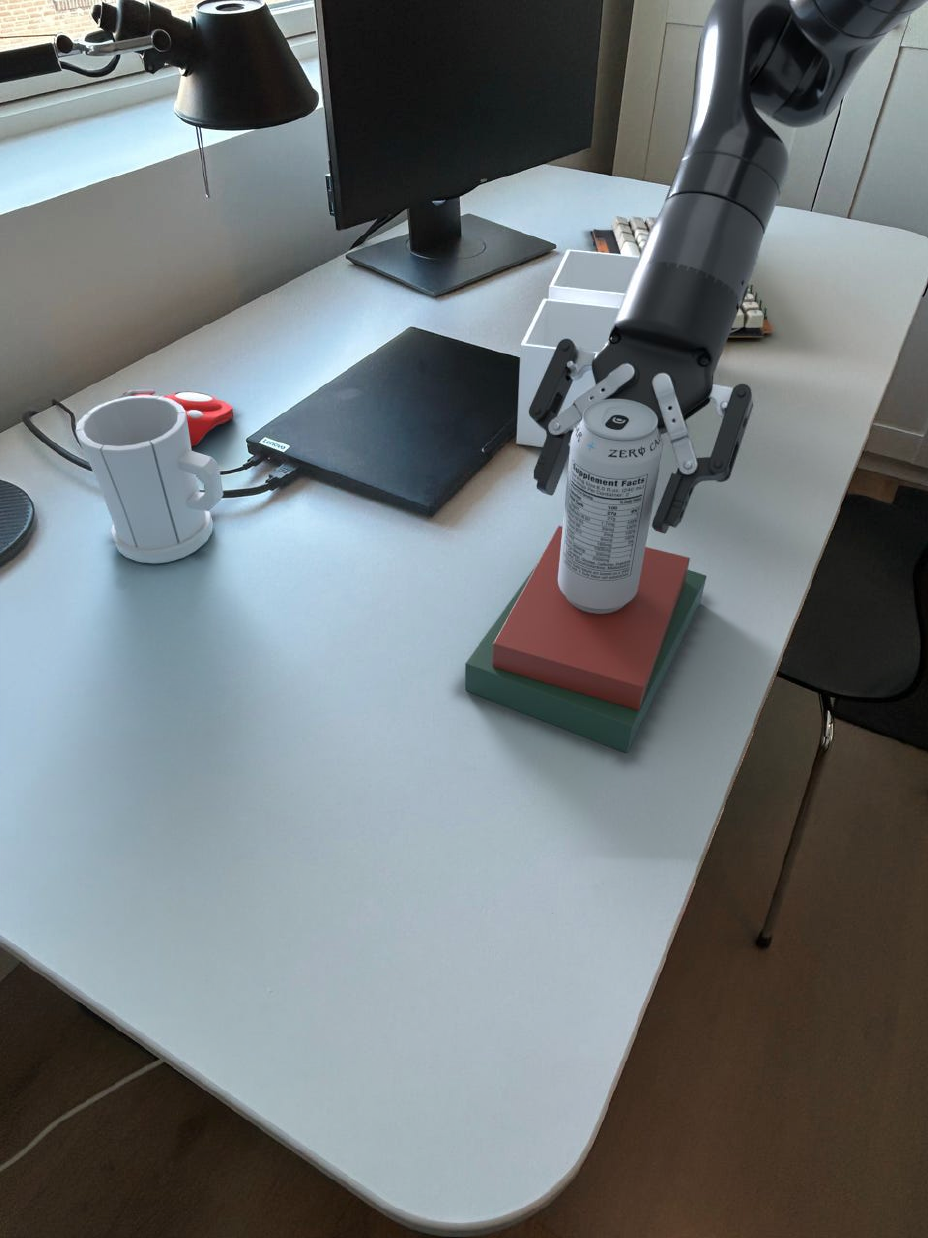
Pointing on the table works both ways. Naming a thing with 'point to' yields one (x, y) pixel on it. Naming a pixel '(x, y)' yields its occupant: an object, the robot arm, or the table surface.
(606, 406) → the energy drink can
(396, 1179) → the table surface
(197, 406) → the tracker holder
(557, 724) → the book stack
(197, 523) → the cup
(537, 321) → the storage container
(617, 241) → the mechanical keyboard
